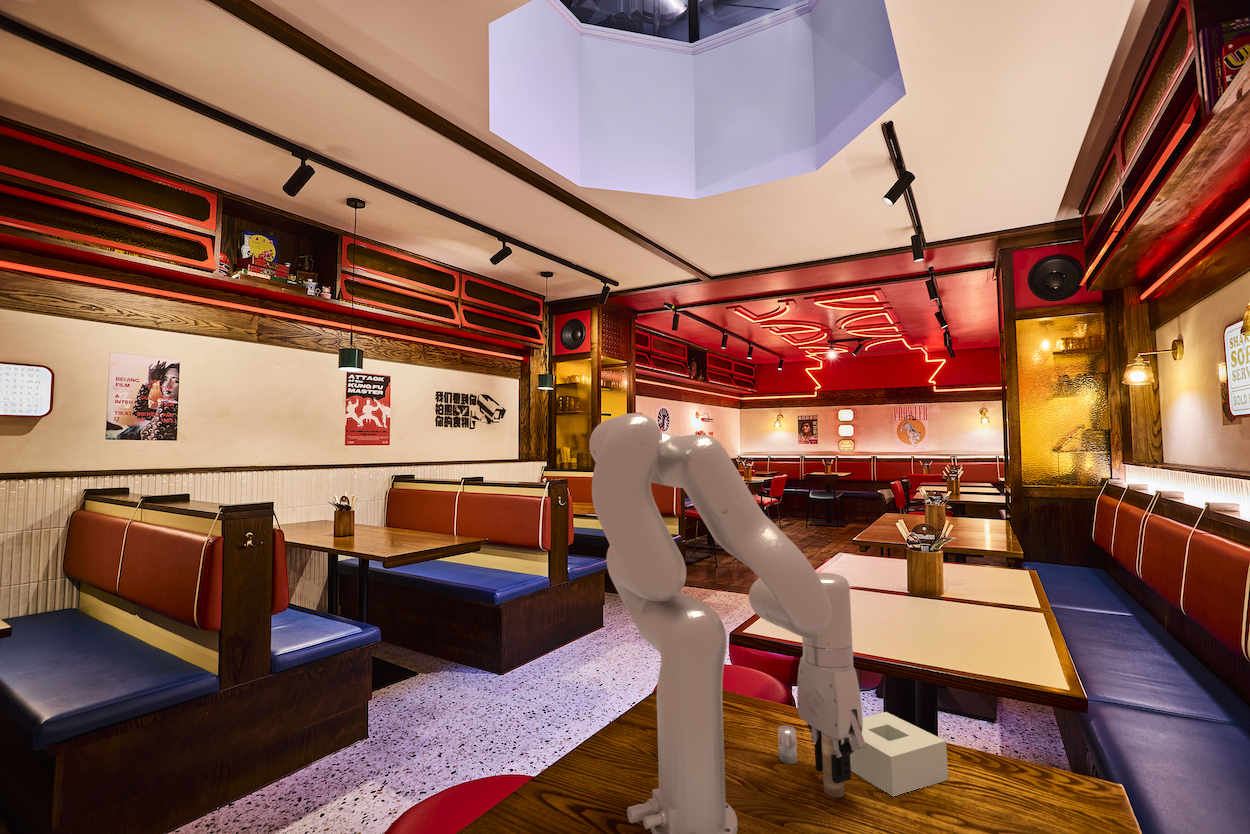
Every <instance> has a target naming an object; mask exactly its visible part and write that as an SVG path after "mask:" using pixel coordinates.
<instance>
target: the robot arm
mask: <svg viewBox="0 0 1250 834" xmlns="http://www.w3.org/2000/svg"><path fill="white" fill-rule="evenodd" d="M588 443H589V444H588V445H589V447H588V448H589V452H590V455H591V457H592V459H593V461H594V462H595V465H594V467H593V468H594V469H593V473H592V482H591V500H592V504H593V505H592V506H593V508H594V512H595V515H596V517H597V519H598V521H599V525H600V526H601V529H602V530H603V533H604V535H605V537H606V539H607V541H608V544H609V547H608V548H607V552H606V567H607V571H608V575H609V577H610V580H611V582H612V583H613V585H614V588H615V589H616V591H617V593H618V596H619V598H620V599H621V600H622V603H623V605H624V606H625V609H626V610H627V612H628V615H629V616H630V618H631V620H632V622H633V623H634V625H635V627H636V629H637V630H638V632H639V633H640V635H641V637H643V639H644V640H645V641H646V642H647V643H648V644H649V645H650V646H652V647H653V648H654V649H655V650H656V651H657V652H658V653H659V654H660V668H659V673H658V678H657V683H656V685H657V687H656V713H657V715H656V721H657V759H658V762H657V766H658V770H657V771H658V787H657V788H654V789H652V791H651V792H652V795H651V797H652V798H648V799H647V800H646V802H645V803H638V804H635V805H631V806H628V807H627V808H626V813H627V814H626V815H627V819H628V822H629V823H631V824H634V823H637V822H642V823H643V827H644V829H645V830H648V829H649V830H650V832H651V833H652V834H737V832H738V827H739V825H738V817H737V814H736V811H735V810H734V809H733V807H732V806H731V805H730V804H729V803H727V801H726V799H727V798H726V772H725V769H726V767H725V744H724V743H725V742H724V741H725V739H724V738H725V737H724V736H725V735H724V710H723V709H724V707H723V703H724V702H723V682H724V681H723V679H724V677H723V676H724V668H725V662H726V661H725V660H726V654H727V646H728V645H727V643H728V641H727V633H726V628H725V626H724V622H723V621H722V619H721V617H720V616H719V614H718V613H717V612H716V611H715V609H713V608H712V607H711V606H710V605H708V603H705V602H704V601H702V600H700V599H698V598H697V597H694V596H692V595H690V594H688V593H685V592H684V591H683V589H684V586H685V584H686V580H687V566H686V562H685V559H684V557H683V555H682V553H681V551H680V549H679V546H678V545H677V543H676V542H675V540H674V538H673V536H672V533H671V532H670V530H669V528H668V526H667V524H666V522H665V520H664V519H663V516H662V515H661V513H660V510H659V508H658V506H657V503H656V501H655V499H654V495H653V492H652V483H653V484H658V485H662V486H666V487H671V488H677V489H678V488H679V489H683V490H684V493H686V495H687V496H688V499H689V500H690V501H691V503H692V504H693V505H692V506H693V507H694V508H695V510H696V512H697V513H698V515H699V516H700V518H701V519H702V521H703V523H704V524H705V526H706V528H707V530H708V531H709V533H710V534H711V536H712V538H713V540H714V541H715V542H716V543H717V544H718V545H719V546H720V547H722V548H723V550H725V551H726V552H727V553H728V554H729V555H730V556H732V557H733V558H735V559H737V560H738V561H740V562H741V563H742V564H743V565H745V566H746V567H748V568H749V569H750V570H751V571H752V572H753V573H754V574H755V575H756V576H757V577H758V578H757V580H755V581H754V582H753V583H752V585H751V587H750V589H749V593H748V600H749V605H750V607H751V608H752V611H754V613H755V614H756V615H757V616H759V618H761V619H762V620H765V621H766V622H767V623H771V624H773V625H775V626H776V627H780V628H782V629H784V630H785V631H788V632H790V633H791V634H792V633H793V634H795V635H797V636H800V637H802V656H801V657H800V660H799V665H798V673H797V684H796V685H797V689H796V690H797V691H796V697H797V698H796V701H797V702H796V703H797V714H798V717H799V718H800V719H801V720H802V721H803V722H805V723H806V724H807V727H808V730H809V731H810V733H811V734H810V735H811V741H812V743H813V744H814V765H815V770H816V771H817V772H818V773H819V772H823V762H822V740H821V732H822V733H824V734H826V735H827V736H829V737H831V738H832V739H833V748H834V755H831V764H832V780H833V782H834V783H836V784H837V783H841V782H844V783H845V782H846V781H850V780H851V779H852V771H851V766H850V755H851V754H853V752H854V751H855V750H860V749H863V748H865V747H866V744H865V741H864V739H863V736H862V728H863V718H864V717H863V708H862V698H861V690H860V684H859V681H858V674H857V672H856V671H857V670H856V668H855V667H854V653H853V651H854V649H853V632H852V631H853V630H852V614H851V613H852V611H851V591H850V584H849V581H848V580H847V579H846V578H845V577H844V576H843V575H839V574H836V573H833V572H832V573H830V572H816V570H815V569H814V566H813V565H812V564H811V562H810V561H809V559H808V558H807V556H805V555H804V553H803V552H802V550H800V549H799V548H798V546H797V545H796V544H795V543H794V542H793V541H792V540H791V539H790V538H789V537H788V536H787V535H786V534H785V533H784V532H783V531H782V530H781V528H780V527H778V526H777V525H776V524H775V523H774V522H773V520H771V519H770V518H769V517H768V516H767V515H766V514H765V512H763V510H762V509H761V507H760V506H759V504H758V502H757V500H756V499H755V497H754V496H753V494H752V492H751V491H750V489H749V487H748V486H747V484H746V482H745V480H744V479H743V477H742V475H741V473H740V472H739V470H738V469H737V466H736V465H735V464H734V462H733V460H732V458H731V457H730V455H729V454H728V452H727V450H726V449H725V447H724V446H723V445H722V443H721V442H720V441H719V440H718V439H716V438H715V437H713V436H711V435H707V434H689V435H674V434H669V433H665V432H662V431H661V429H660V426H659V424H658V423H657V422H656V421H655V420H654V419H653V418H652V417H650V416H648V415H647V414H643V413H636V412H634V413H633V412H632V413H630V412H629V413H626V414H625V413H624V414H621V415H618V416H616V417H612V418H609V419H606V420H604V421H601V422H600V423H599V424H598V425H597V426H596V427H595V428H594V429H593V431H592V432H591V434H590V437H589V442H588ZM842 739H844V743H843V744H842V745H841V740H842Z"/></svg>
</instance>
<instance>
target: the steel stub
mask: <svg viewBox="0 0 1250 834" xmlns="http://www.w3.org/2000/svg"><path fill="white" fill-rule="evenodd" d="M777 736H778V737H777V738H778V760H780V762H782V763H784V764H788V765H792V764H796V763H797V762H798V755H797V754H798V753H797V752H798V751H797V750H798V749H797V729H796V728H795V727H794V726H792V725H791V726H790V725H786V724H784V725H779V726H778V727H777Z"/></svg>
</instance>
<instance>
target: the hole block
mask: <svg viewBox="0 0 1250 834" xmlns="http://www.w3.org/2000/svg"><path fill="white" fill-rule="evenodd" d="M862 718H863V728H862V736H863V739H864V741H865V744H866V747H865V748H863V749H860V750H855V751H854V752H853V754H851V755H850V766H851V773H852V772H853V773H854V774H856V775H858V776H859V777H860V778H862V779H863V780H864V781H866V782H868V783H869V784H871V785H873V786H874V787H875V788H877V787H878V788H877V789H878V790H880V789H881V790H880V791H882V790H883V791H884V793H885V792H887V793H888V794H890V795H891V796H893V797H894V796H897V795H900V794H903V793H906V792H909V793H911V792H910V791H913V790H916V789H919V788H920V789H919V790H922V789H924V788H923V787H925V788H927V786H928V787H930V786H933V785H936V784H939V783H943V782H945V781H949V768H948V751H947V750H948V749H947V741H946V739H943V738H941V737H939V736H937V735H935V734H933V733H931V732H929V731H926V730H925V729H922V728H920V727H919V726H916V725H914V724H912V723H910V722H908V721H906V720H904V719H902V718H899V716H896V715H894V714H891V713H889V712H888V711H885V712H884V711H883V712H881V713H876V714H873V715H868V716H865V717H862ZM843 743H844V739H842V744H843ZM921 788H922V789H921ZM883 791H882V792H883ZM916 791H917V790H916ZM913 792H914V791H913ZM888 794H887V795H888ZM906 794H907V793H906ZM890 795H889V796H890ZM903 795H904V794H903ZM891 796H890V797H891ZM900 796H901V795H900ZM893 797H892V798H893ZM897 797H898V796H897ZM894 798H895V797H894Z"/></svg>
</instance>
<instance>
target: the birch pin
mask: <svg viewBox="0 0 1250 834" xmlns="http://www.w3.org/2000/svg"><path fill="white" fill-rule="evenodd" d="M821 740H822V762H823V771H822V779H823V780H822V781H823V782H822V783H823V792H824V794H825V795H826V796H827V797H831V798H842V797H844V796H845V784H844V783H845V781H844V782H841V783H837V784H836V783H834V782H833V780H832V764H831V755H834V748H833V739H832V738H831V737H829V736H827V735H826V734H824V733H822V732H821ZM841 745H842V740H841Z"/></svg>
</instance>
